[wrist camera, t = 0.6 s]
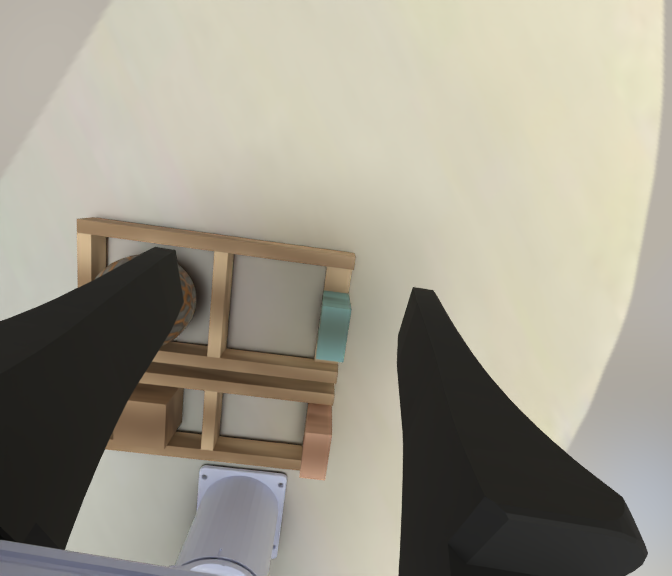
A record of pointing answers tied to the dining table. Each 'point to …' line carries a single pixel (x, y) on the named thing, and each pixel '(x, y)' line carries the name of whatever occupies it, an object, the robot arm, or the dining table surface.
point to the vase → (188, 297)
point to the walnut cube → (150, 416)
